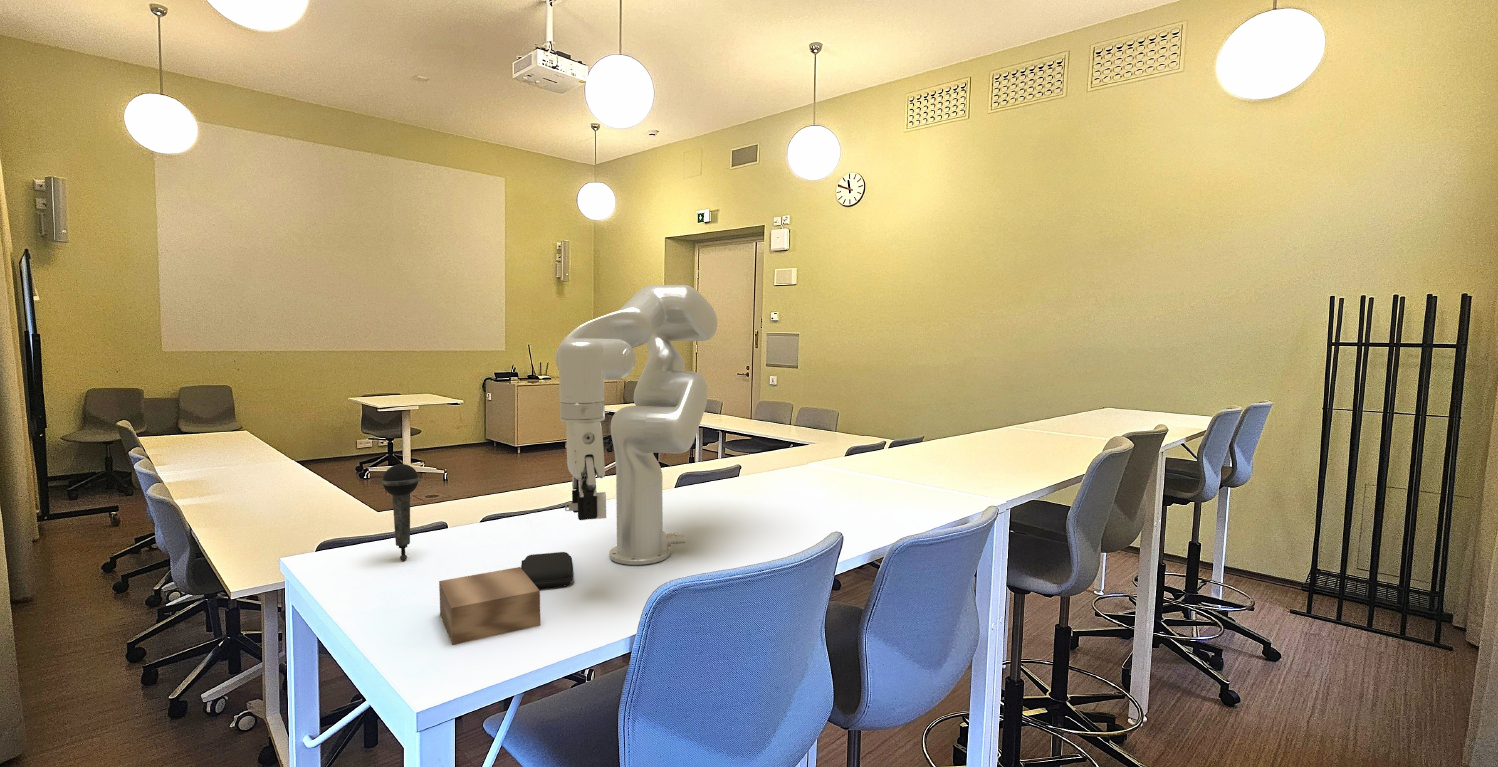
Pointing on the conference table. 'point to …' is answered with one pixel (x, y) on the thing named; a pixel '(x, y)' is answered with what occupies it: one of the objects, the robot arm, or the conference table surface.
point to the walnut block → (488, 604)
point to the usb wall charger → (600, 505)
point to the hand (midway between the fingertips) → (584, 514)
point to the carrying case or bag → (549, 569)
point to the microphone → (401, 500)
